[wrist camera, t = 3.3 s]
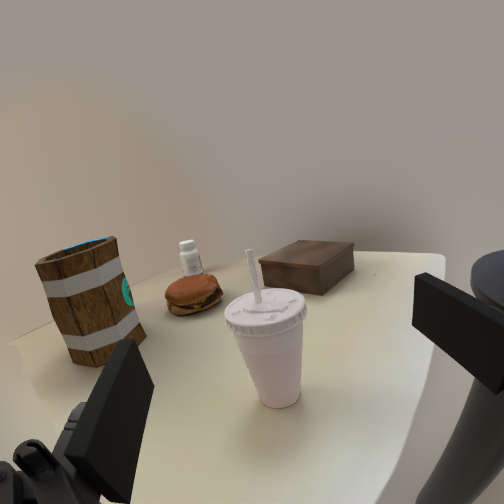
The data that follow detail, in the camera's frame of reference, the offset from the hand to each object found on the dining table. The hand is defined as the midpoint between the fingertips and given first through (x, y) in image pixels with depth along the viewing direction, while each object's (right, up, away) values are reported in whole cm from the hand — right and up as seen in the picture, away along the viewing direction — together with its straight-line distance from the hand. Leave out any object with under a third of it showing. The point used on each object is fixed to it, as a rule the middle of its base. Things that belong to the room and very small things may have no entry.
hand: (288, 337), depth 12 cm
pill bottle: (-15, -2, +54) cm, 56 cm away
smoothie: (+1, -10, +13) cm, 16 cm away
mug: (-24, -10, +30) cm, 40 cm away
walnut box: (+9, -1, +40) cm, 41 cm away
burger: (-11, -6, +37) cm, 39 cm away
